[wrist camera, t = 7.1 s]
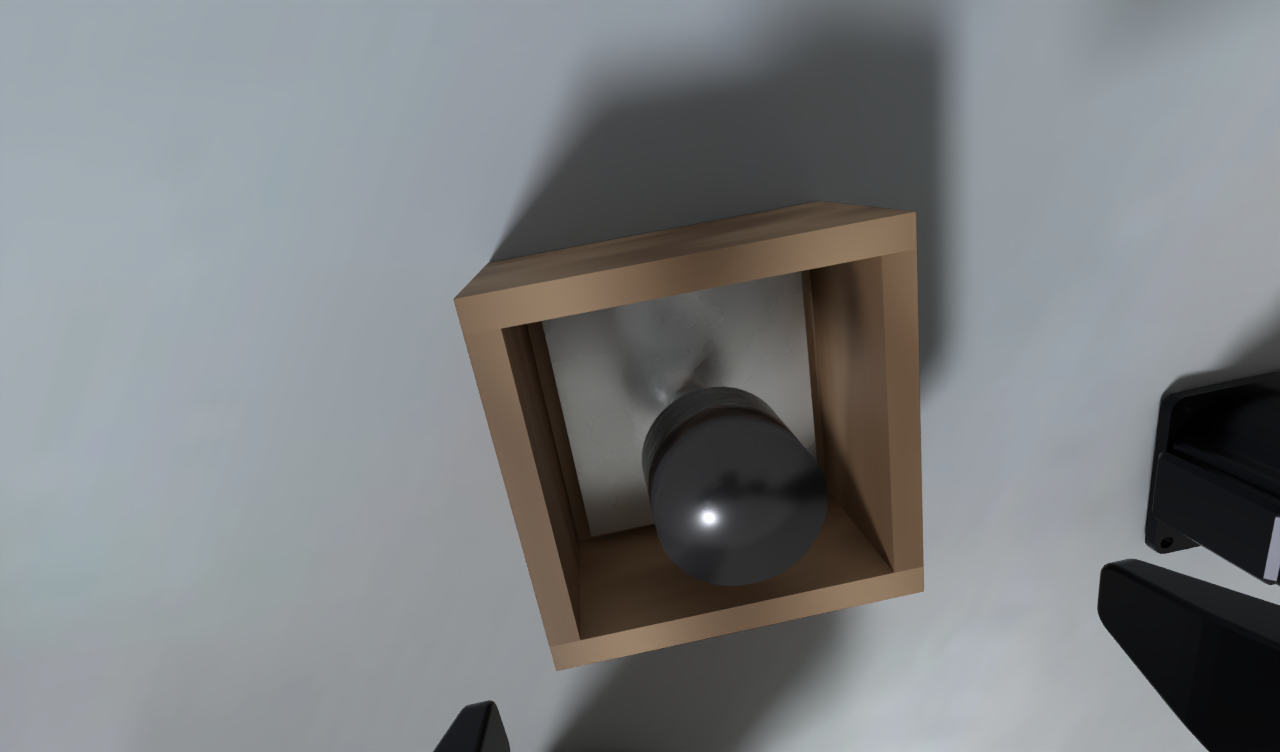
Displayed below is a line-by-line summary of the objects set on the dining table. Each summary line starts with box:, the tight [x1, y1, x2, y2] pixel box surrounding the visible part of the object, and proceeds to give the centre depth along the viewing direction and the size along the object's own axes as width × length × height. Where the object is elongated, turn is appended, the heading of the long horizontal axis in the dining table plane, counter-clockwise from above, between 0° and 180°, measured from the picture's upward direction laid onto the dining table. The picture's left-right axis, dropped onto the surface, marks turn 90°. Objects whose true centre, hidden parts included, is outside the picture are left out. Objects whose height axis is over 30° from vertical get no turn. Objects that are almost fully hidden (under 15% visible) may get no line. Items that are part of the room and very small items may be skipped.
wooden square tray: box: [454, 201, 924, 671], centre depth 17 cm, size 10×10×6 cm
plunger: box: [542, 271, 828, 586], centre depth 16 cm, size 7×7×7 cm
